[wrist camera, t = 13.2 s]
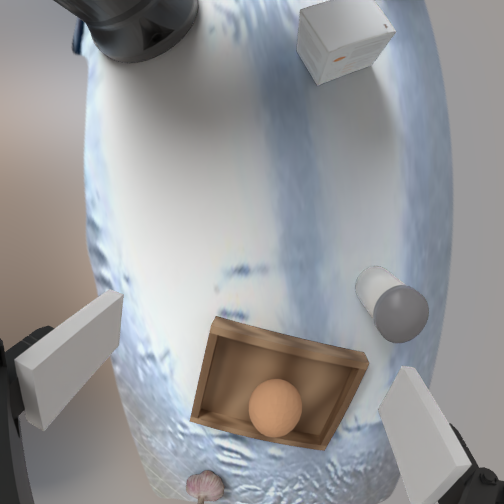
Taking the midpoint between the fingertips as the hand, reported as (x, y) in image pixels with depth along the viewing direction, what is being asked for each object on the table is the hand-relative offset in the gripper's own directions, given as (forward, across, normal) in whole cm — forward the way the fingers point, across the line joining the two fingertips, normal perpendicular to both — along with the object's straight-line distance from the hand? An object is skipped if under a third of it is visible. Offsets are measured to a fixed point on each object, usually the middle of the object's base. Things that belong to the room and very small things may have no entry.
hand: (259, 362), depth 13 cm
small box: (+26, +2, +24) cm, 36 cm away
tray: (+24, +6, -18) cm, 31 cm away
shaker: (+25, +14, -1) cm, 29 cm away
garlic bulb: (+24, +1, -44) cm, 50 cm away
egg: (+24, +6, -18) cm, 31 cm away
